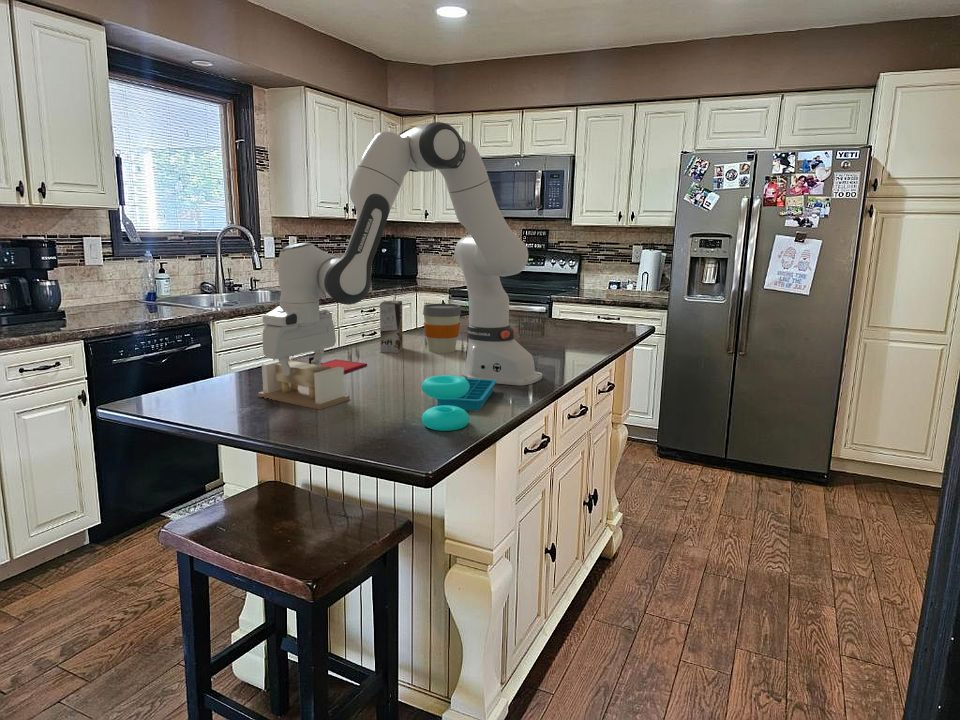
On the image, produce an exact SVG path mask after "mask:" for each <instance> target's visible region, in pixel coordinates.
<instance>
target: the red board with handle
mask: <svg viewBox="0 0 960 720" xmlns="http://www.w3.org/2000/svg"><path fill="white" fill-rule="evenodd" d="M312 360H314V356H310V357H309V358H308V364H311V361H312ZM321 366H326V367H331V369H332V368H335V367H343V368H344V374H348V373H351V372H353V371H356V370H359V369H362V368H364V367H367V366H368V363H364V362H358V361H349V360H344V359H343V360H342V359H332V360H330V361H325V362H321ZM261 381H263V378H262V379H261Z"/></svg>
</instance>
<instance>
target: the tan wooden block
mask: <svg viewBox="0 0 960 720" xmlns="http://www.w3.org/2000/svg"><path fill="white" fill-rule="evenodd" d="M288 363H289V365H290V367H293V374H292V375H288V376H287V375H284V373H283V367H282V366H281V364H280V363H279V364H275V365H276V381H281V382H287V383H292V384H297V385H298V386H302V387H307V388H309V387H313V388H315V382H314V373H317V372H320V371H324V370H328V369H331V367H326V366H320V365H314V364H309V362H308V363H307V362H300V361H295V360H292V361H288Z"/></svg>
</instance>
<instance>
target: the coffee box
mask: <svg viewBox="0 0 960 720" xmlns="http://www.w3.org/2000/svg"><path fill="white" fill-rule="evenodd" d="M379 331H380V334H379V336H380V339H379V340H380V341H379V342H380V343H379V344H380V348H379V349H380V350H379V351H380V353H395V354H398V353H400V352H401V350H402V349H403V301H402V300H383V301H382V302H380V303H379Z"/></svg>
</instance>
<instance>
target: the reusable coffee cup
mask: <svg viewBox="0 0 960 720" xmlns="http://www.w3.org/2000/svg"><path fill="white" fill-rule="evenodd" d="M422 315H423V316H424V322H423V327H424V334H425V337H426V342H427V349H428V352H429V353H435V354H451V353H455V351H456V348H457V339H458V337H459V334H460V326H461V322H460V316H461V315H462V312H461V305H459V304H455V303H428V304H424V305H423V312H422Z"/></svg>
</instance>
